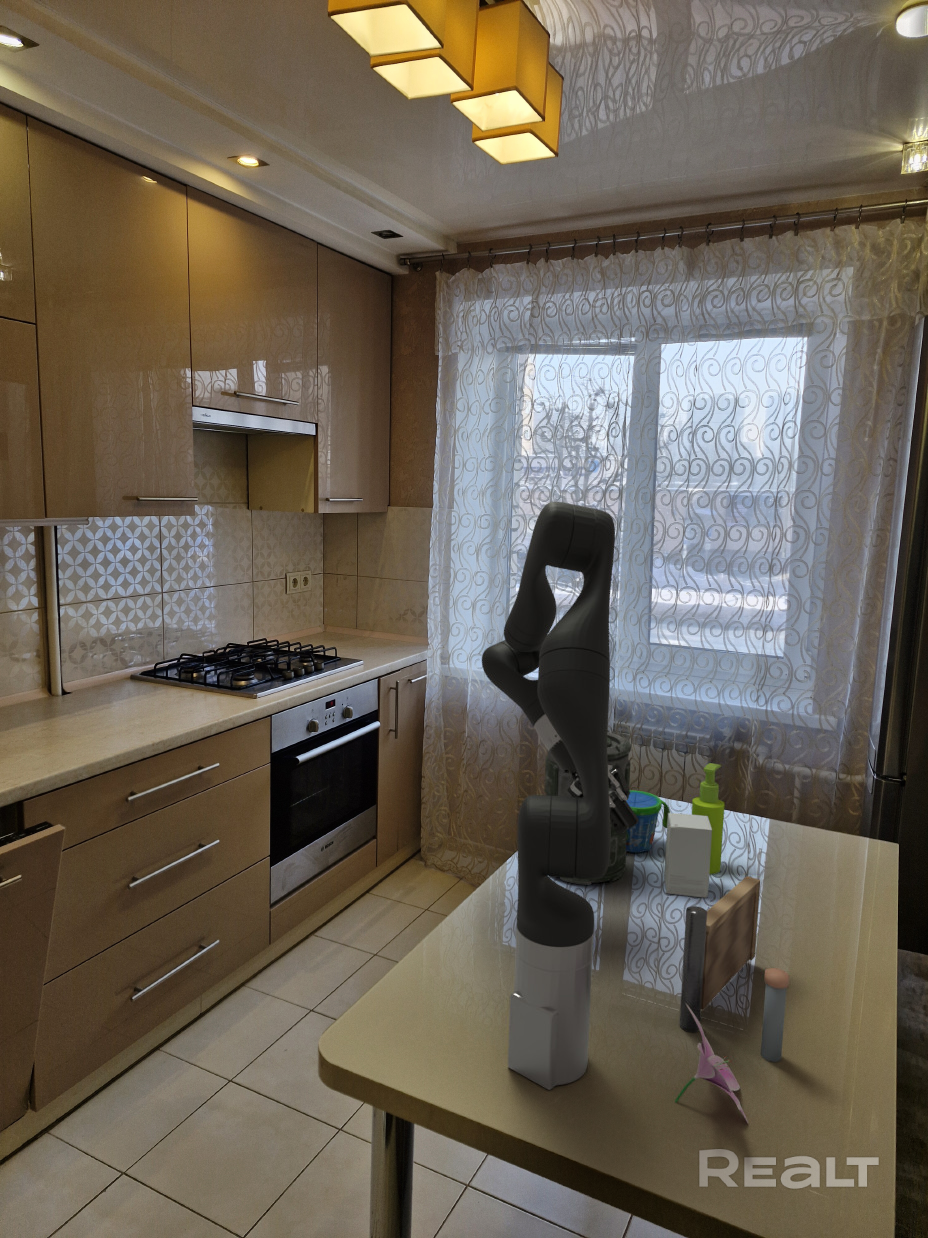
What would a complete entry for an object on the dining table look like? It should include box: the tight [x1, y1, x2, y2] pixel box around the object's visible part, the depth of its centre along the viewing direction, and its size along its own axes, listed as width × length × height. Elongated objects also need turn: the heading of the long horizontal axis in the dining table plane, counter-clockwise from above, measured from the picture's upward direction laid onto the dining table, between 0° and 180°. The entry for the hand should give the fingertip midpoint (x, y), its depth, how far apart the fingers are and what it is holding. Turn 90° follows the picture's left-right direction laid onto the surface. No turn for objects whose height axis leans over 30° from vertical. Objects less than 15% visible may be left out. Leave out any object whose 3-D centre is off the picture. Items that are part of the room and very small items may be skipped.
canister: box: [544, 730, 632, 886], centre depth 152 cm, size 16×16×28 cm
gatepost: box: [678, 905, 708, 1033], centre depth 105 cm, size 3×3×16 cm
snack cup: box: [626, 789, 671, 854], centre depth 164 cm, size 16×10×10 cm
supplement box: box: [663, 812, 712, 899], centre depth 146 cm, size 7×7×13 cm
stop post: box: [760, 967, 790, 1063], centre depth 100 cm, size 3×3×11 cm
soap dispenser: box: [691, 762, 725, 875], centre depth 154 cm, size 6×7×20 cm
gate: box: [701, 875, 761, 1011], centre depth 114 cm, size 18×2×12 cm, turn 140°
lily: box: [674, 1004, 749, 1124], centre depth 92 cm, size 12×12×10 cm
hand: (629, 827), depth 127 cm, fingers closed
